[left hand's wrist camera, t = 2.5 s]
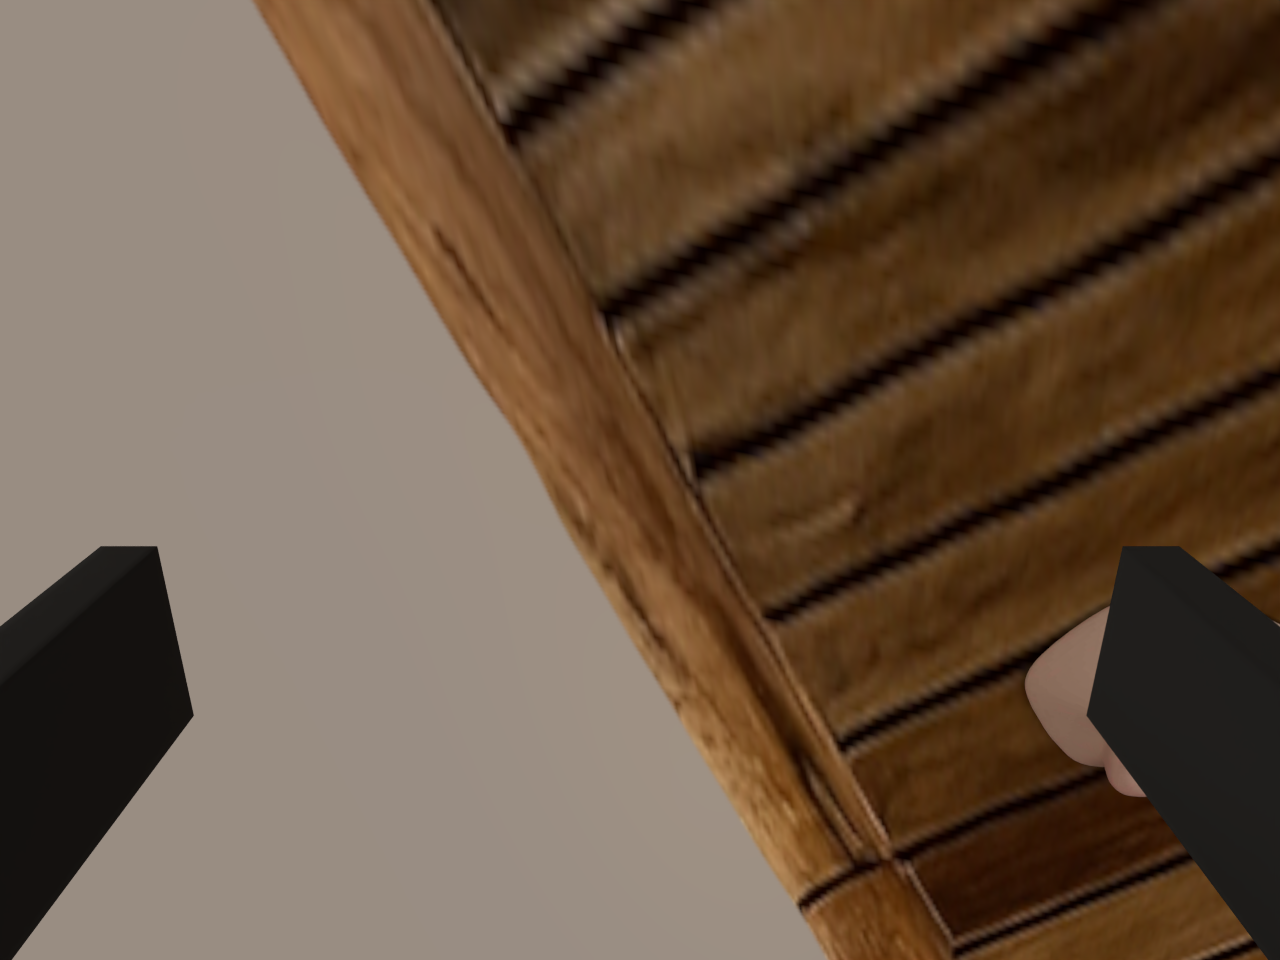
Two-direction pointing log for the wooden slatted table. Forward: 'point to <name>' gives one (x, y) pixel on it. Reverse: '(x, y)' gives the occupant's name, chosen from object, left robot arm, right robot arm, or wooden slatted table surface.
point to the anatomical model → (1076, 699)
